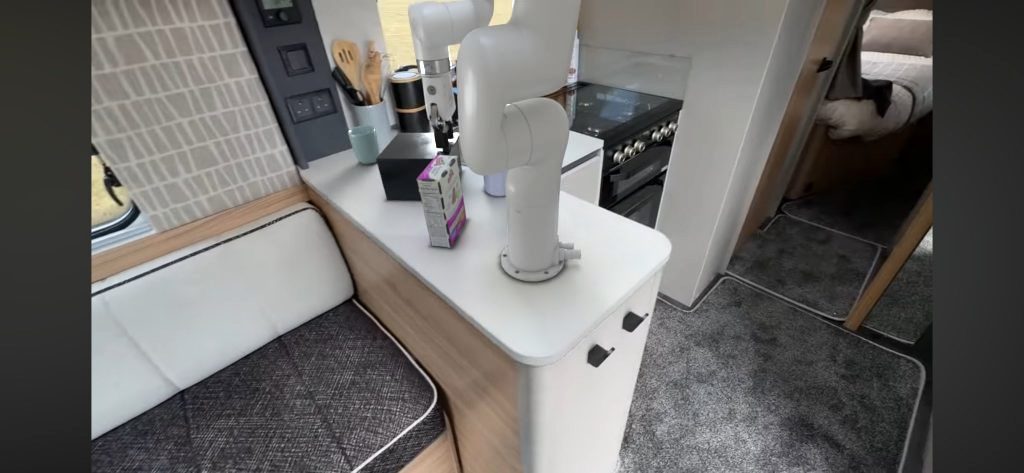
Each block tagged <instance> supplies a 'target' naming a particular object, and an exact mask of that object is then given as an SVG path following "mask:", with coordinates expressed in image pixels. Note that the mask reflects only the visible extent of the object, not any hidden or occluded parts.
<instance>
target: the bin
mask: <svg viewBox="0 0 1024 473" xmlns="http://www.w3.org/2000/svg"><path fill="white" fill-rule="evenodd" d="M460 150H461V149H460V141H459V140H458V141H457V143H456V145H455V147H454V150H453V152H452V154H451V156H457V157H458V165H459V172H460V177H462V173H463V168H462V166H463V165H462V159H461V151H460ZM430 163H431V162H383V161H376V164H377V168H378V172H379V175H380V176H379V177H380V179H381V183H382V187H383V190H384V194H385V197H386V201H400V202H401V201H402V202H403V201H405V202H406V201H408V202H410V201H411V202H413V201H414V202H422V201H421V197H420V192H419V188H418V184H417V180H416V179H417V178H418V177H419V176H420V174H421V173H422V172H423V171H424V170H425V169H426V167H427V166H428V165H429V164H430Z"/></svg>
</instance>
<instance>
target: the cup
mask: <svg viewBox="0 0 1024 473" xmlns="http://www.w3.org/2000/svg"><path fill="white" fill-rule="evenodd" d="M347 135H348V138H349V141H350V145H351V148H352V151H353V153H354V156H355V157H356V159H357V161H358V162H360V163H361V164H364V165H371V164H374V163H377V161H376V158H377V157H378V156H379V155H380V153H381V146H380V143H379V138H378V134H377V131H376V128H375V127H374V125H359V126H354V127H351V128H349V130H348V131H347Z"/></svg>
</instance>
